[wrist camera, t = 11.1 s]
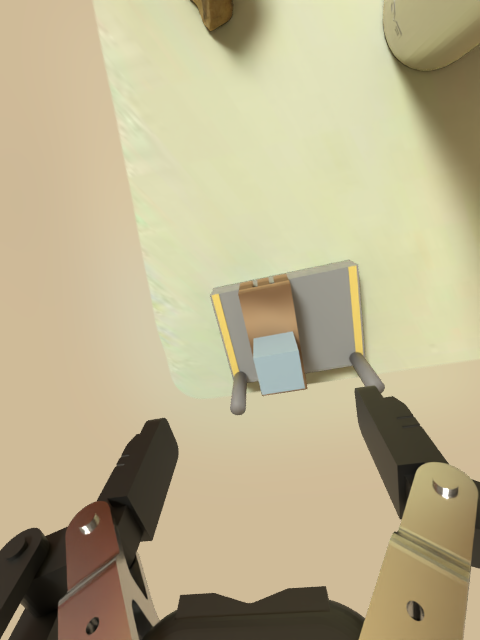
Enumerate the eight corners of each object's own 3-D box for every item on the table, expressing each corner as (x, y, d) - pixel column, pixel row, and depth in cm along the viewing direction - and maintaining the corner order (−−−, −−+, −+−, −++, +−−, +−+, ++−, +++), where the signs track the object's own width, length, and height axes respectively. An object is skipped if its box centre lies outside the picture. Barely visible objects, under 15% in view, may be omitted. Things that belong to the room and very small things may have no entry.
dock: (349, 259, 32) (381, 278, 24) (357, 351, 36) (387, 394, 28) (213, 288, 34) (200, 314, 26) (236, 371, 38) (230, 417, 30)
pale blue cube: (253, 338, 29) (253, 358, 25) (292, 331, 28) (298, 350, 24) (261, 371, 30) (262, 395, 26) (298, 365, 30) (304, 388, 26)
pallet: (240, 283, 31) (238, 293, 27) (286, 273, 30) (290, 283, 26) (261, 375, 35) (261, 396, 31) (301, 369, 34) (307, 389, 31)
